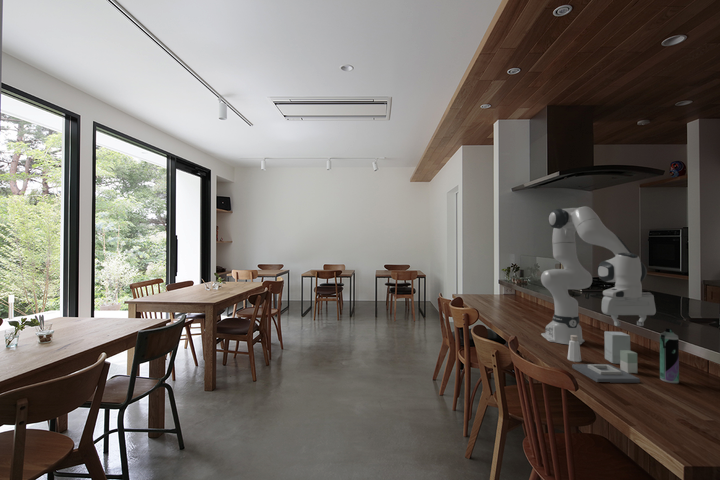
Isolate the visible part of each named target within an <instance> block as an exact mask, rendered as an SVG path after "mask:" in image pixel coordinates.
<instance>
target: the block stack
mask: <svg viewBox="0 0 720 480" xmlns="http://www.w3.org/2000/svg"><path fill="white" fill-rule="evenodd" d="M619 365H620V367H619V369H621V370H623V371H625V372H627V373H629V374H638V353H637V352H635V351H633V350H631V349H630V350H620V364H619Z"/></svg>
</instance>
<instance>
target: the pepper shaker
mask: <svg viewBox="0 0 720 480" xmlns="http://www.w3.org/2000/svg"><path fill="white" fill-rule="evenodd" d="M580 346H581V344H579V342H578V336H576V335H571V340H570V341H569V345H568V350H567V351H568V352H567V360H568V361H570V362H577V363H579V362H582V356H581V355H582V353H581V347H580Z"/></svg>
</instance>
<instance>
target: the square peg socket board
mask: <svg viewBox="0 0 720 480" xmlns="http://www.w3.org/2000/svg"><path fill="white" fill-rule="evenodd" d="M571 368H572V369H574V370H576V371H578V372H579V373H581V374H582V375H584V376H585V377H587V378H588V379H591V380H592V381H594V382H596V383H597V382H610V383H612V384H613V383H615V384H616V383H619V384H620V383H639V384H640V383H641V381H640V379H641V378H639V377H637V376H635V375H633V374H632V373H627V372H625V371H623V370H621V369H620V367H616V366H614V365H613V364H611V363H609V364H608V363H606V364H605V363H594V364H593V363H587V364H586V363H572V365H571ZM610 383H609V384H610Z"/></svg>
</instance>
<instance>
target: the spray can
mask: <svg viewBox="0 0 720 480" xmlns="http://www.w3.org/2000/svg"><path fill="white" fill-rule="evenodd" d="M679 342H680V341H679V335H678V334H676V333H674V331H673V329H672V328H665V330H664V331H663V332H660V333H659V380H660V381H663V382H665V383H671V384H679V383H680V370H679V369H680V364H679V363H680V356H679V353H680V352H679V351H680V350H679V347H680V344H679Z"/></svg>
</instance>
